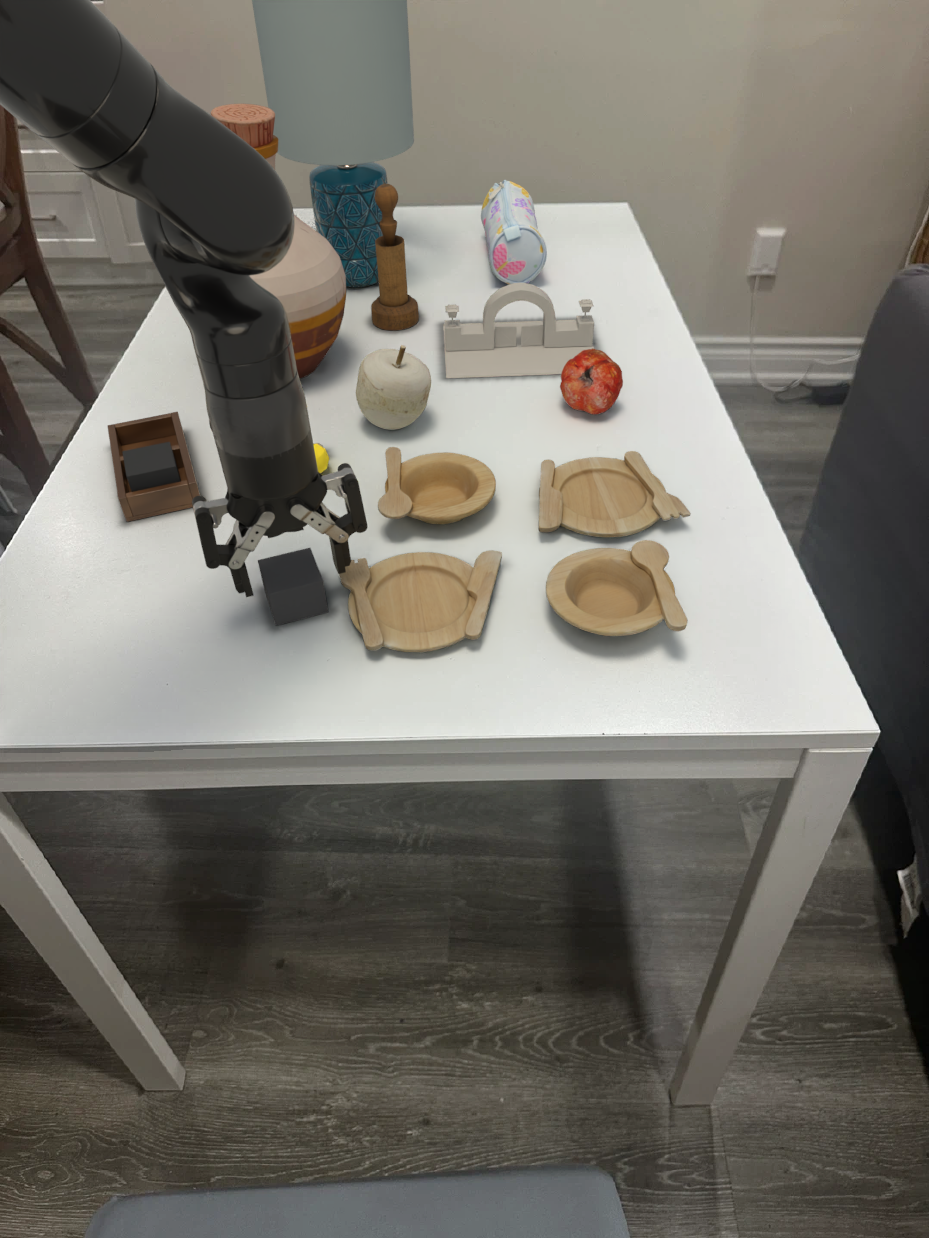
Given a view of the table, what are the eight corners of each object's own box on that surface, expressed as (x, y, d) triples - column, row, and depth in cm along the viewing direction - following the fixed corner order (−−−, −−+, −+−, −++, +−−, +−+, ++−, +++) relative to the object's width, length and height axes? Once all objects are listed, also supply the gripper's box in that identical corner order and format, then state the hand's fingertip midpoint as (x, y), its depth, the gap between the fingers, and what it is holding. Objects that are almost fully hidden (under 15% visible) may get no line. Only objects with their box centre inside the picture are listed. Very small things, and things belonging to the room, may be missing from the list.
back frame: (126, 522, 91) (118, 499, 89) (115, 447, 101) (107, 425, 99) (202, 505, 93) (196, 482, 91) (183, 433, 103) (177, 411, 101)
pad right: (275, 626, 80) (268, 594, 77) (265, 591, 83) (257, 560, 80) (328, 612, 81) (323, 580, 78) (316, 578, 84) (310, 547, 81)
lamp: (306, 252, 141) (265, -38, 114) (425, 252, 140) (411, -39, 113) (284, 304, 127) (232, -10, 100) (415, 305, 126) (397, -12, 100)
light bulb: (303, 484, 95) (289, 454, 93) (311, 466, 100) (298, 438, 99) (331, 474, 95) (318, 444, 93) (338, 457, 100) (325, 428, 98)
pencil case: (480, 237, 144) (480, 176, 137) (532, 235, 144) (535, 174, 137) (488, 292, 129) (488, 226, 122) (546, 290, 129) (550, 224, 122)
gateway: (445, 351, 116) (443, 293, 110) (445, 343, 118) (443, 285, 112) (592, 346, 116) (597, 287, 111) (589, 338, 118) (594, 280, 112)
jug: (191, 404, 108) (120, 137, 86) (218, 336, 120) (162, 89, 99) (349, 400, 107) (316, 133, 86) (359, 333, 120) (333, 86, 99)
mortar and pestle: (390, 335, 120) (378, 198, 107) (363, 319, 123) (349, 185, 110) (428, 321, 123) (421, 185, 110) (400, 305, 126) (391, 173, 113)
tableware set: (668, 465, 97) (674, 434, 94) (725, 658, 76) (734, 625, 73) (354, 470, 97) (350, 438, 94) (325, 663, 76) (319, 631, 73)
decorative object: (346, 418, 105) (337, 341, 98) (409, 397, 108) (404, 321, 101) (381, 453, 99) (374, 374, 92) (447, 429, 102) (444, 351, 95)
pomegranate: (564, 405, 110) (537, 390, 101) (591, 351, 108) (565, 330, 99) (615, 429, 108) (591, 416, 98) (643, 374, 106) (621, 355, 97)
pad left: (137, 507, 92) (126, 476, 89) (132, 481, 95) (121, 451, 92) (185, 497, 93) (175, 466, 90) (178, 471, 96) (169, 441, 94)
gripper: (175, 473, 64) (224, 626, 76) (361, 432, 67) (380, 585, 79) (164, 422, 69) (211, 573, 81) (337, 386, 72) (358, 536, 84)
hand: (294, 579), depth 80 cm, fingers open, 8 cm apart
